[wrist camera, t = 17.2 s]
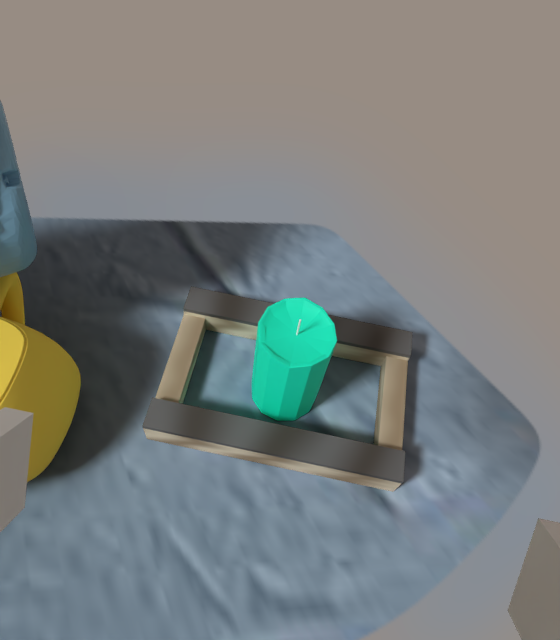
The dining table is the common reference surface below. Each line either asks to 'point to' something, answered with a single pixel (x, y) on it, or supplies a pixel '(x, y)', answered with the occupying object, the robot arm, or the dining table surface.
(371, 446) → the rectangular wooden frame
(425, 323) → the dining table surface
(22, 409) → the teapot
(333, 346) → the candle
